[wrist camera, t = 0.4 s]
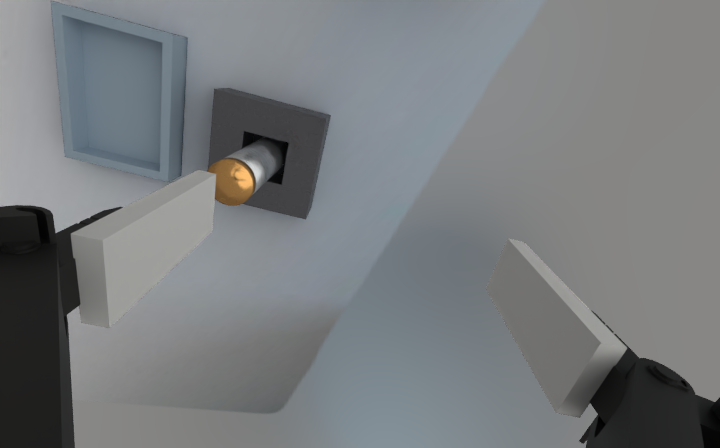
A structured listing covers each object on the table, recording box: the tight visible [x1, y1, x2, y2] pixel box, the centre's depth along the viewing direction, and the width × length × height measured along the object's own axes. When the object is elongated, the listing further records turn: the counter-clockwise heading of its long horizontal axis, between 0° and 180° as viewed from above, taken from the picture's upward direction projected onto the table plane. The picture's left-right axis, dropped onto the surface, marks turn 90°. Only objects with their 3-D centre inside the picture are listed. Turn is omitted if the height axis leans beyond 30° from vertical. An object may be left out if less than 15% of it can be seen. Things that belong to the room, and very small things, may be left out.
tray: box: [51, 1, 187, 182], centre depth 38 cm, size 16×12×3 cm
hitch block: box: [208, 88, 331, 219], centre depth 40 cm, size 12×12×4 cm
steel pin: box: [207, 137, 288, 206], centre depth 35 cm, size 4×4×14 cm
